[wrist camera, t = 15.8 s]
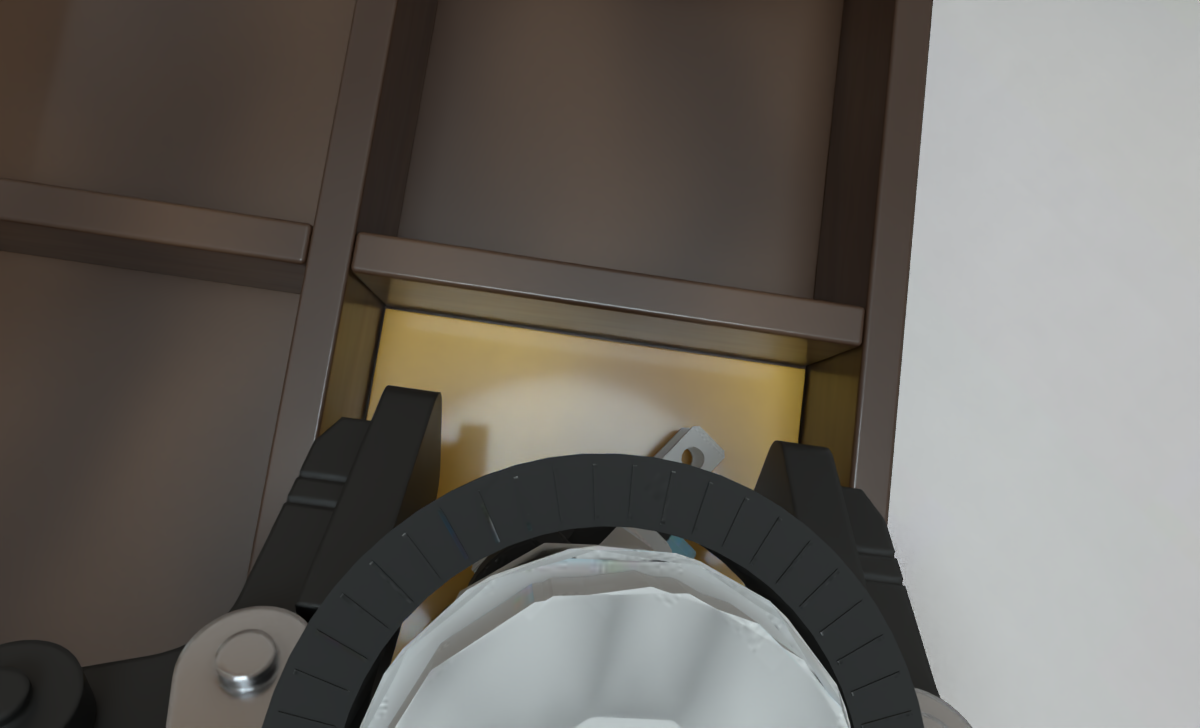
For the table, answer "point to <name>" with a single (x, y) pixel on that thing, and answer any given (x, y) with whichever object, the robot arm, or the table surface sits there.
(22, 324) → the grid
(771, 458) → the robot arm
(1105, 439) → the table surface
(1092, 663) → the table surface
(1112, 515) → the table surface
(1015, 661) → the table surface
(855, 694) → the push button
